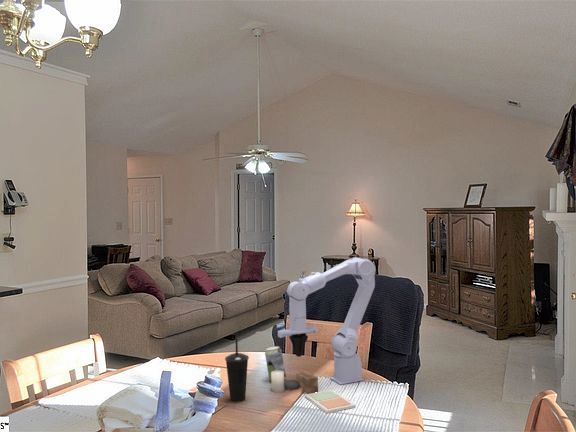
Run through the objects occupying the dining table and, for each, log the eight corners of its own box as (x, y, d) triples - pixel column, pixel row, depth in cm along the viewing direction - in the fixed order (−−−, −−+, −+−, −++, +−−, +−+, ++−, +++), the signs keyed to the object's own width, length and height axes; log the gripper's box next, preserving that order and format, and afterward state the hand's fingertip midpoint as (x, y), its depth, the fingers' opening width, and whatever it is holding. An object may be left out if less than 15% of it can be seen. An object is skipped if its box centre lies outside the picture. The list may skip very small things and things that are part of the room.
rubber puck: (294, 384, 177) (294, 379, 177) (300, 389, 173) (300, 383, 173) (281, 386, 175) (281, 381, 175) (287, 391, 171) (287, 385, 171)
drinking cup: (253, 396, 166) (251, 335, 166) (243, 404, 159) (242, 341, 159) (232, 394, 169) (230, 334, 169) (221, 402, 162) (220, 339, 162)
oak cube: (306, 382, 179) (306, 371, 179) (312, 386, 175) (311, 374, 175) (296, 384, 177) (296, 373, 177) (301, 388, 173) (301, 376, 173)
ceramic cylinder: (281, 386, 175) (280, 369, 175) (286, 390, 171) (286, 373, 171) (269, 388, 173) (269, 371, 173) (274, 392, 169) (274, 375, 169)
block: (312, 388, 172) (312, 374, 172) (318, 392, 169) (317, 377, 169) (302, 390, 171) (301, 375, 171) (307, 394, 167) (307, 379, 167)
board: (331, 392, 169) (331, 389, 169) (355, 407, 155) (355, 404, 155) (304, 397, 164) (304, 394, 164) (326, 413, 151) (326, 410, 151)
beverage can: (284, 384, 178) (283, 350, 178) (263, 383, 179) (262, 349, 179) (287, 378, 184) (286, 345, 184) (268, 377, 185) (267, 344, 185)
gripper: (311, 312, 182) (312, 350, 182) (274, 316, 176) (274, 355, 176) (320, 316, 175) (321, 355, 175) (282, 320, 169) (282, 360, 169)
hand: (298, 355), depth 175 cm, fingers closed
